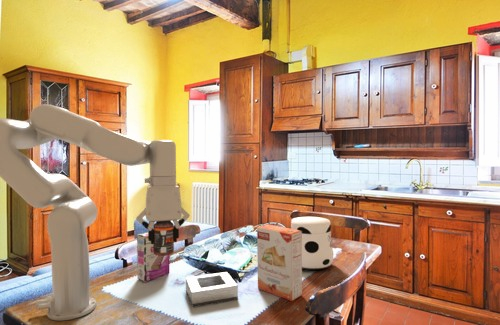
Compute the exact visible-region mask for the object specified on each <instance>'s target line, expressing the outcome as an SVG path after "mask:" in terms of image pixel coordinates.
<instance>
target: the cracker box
mask: <svg viewBox="0 0 500 325" xmlns="http://www.w3.org/2000/svg"><path fill="white" fill-rule="evenodd" d="M256 235H257V236H256V237H257V239H256V240H257V244H256V245H257V248H256V250H257V254H256V255H257V289H258V290H260V291H261V290H262V291H263V292H267V293H269V294H271V295H275V296H277V297H280V298H282V299H285V300H286V301H287V300H288V301H290V302H293V301H295V300H296V299H298V298H300V297H301V296H303V269H302V231H300V230H294V229H291V228H289V227H284V226H280V225H274V224H263V225H259V226H257V227H256Z"/></svg>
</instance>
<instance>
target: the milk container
mask: <svg viewBox="0 0 500 325" xmlns="http://www.w3.org/2000/svg"><path fill="white" fill-rule="evenodd" d="M331 223H332V222H331V220H330V219H328V218H325V217H321V216H320V217H318V216H300V217H299V216H298V217H293V218H291V222H290V229H294V230H300V231H302V270H310V271H316V270H317V271H318V270H320V271H321V270H324V269H327V268H329V267H331V265H332V264H333V261H334V250H333V247H332V241H331V239H332V237H331V236H332V231H331V230H332V224H331Z"/></svg>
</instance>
